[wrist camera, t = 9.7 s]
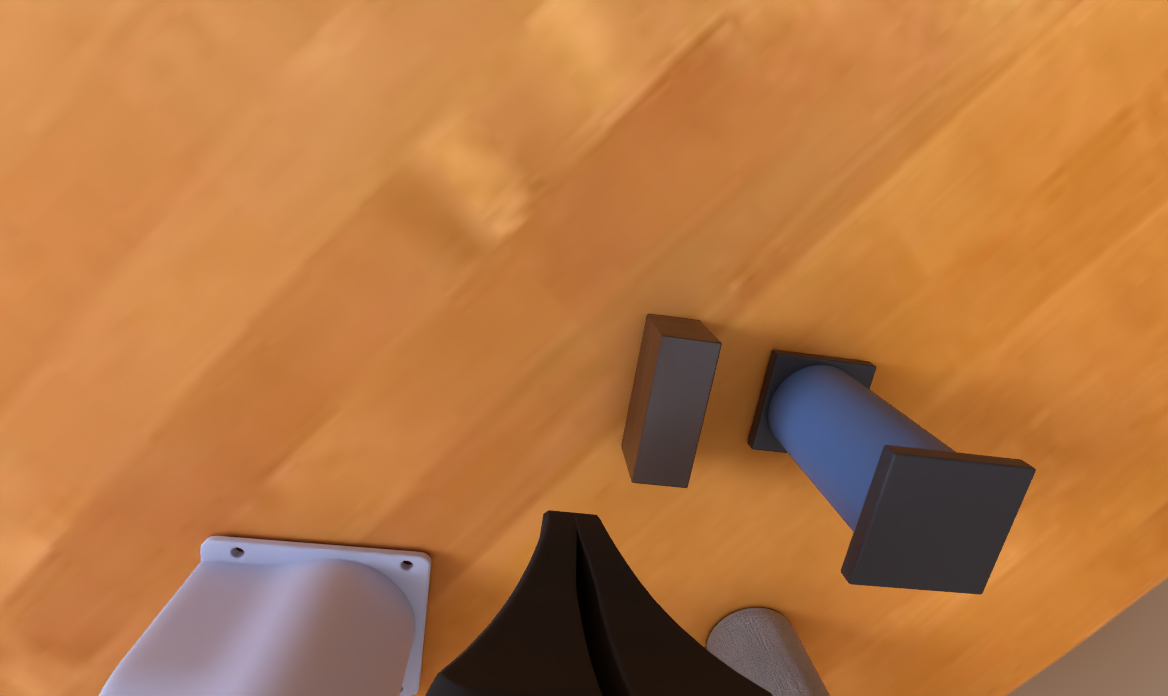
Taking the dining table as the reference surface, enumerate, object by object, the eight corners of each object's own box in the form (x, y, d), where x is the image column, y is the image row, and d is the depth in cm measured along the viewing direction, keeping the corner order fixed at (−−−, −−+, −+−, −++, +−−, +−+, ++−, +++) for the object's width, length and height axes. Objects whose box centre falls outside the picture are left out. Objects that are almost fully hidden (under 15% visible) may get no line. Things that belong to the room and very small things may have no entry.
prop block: (620, 446, 26) (631, 483, 23) (647, 313, 24) (661, 335, 21) (671, 452, 26) (687, 489, 23) (700, 320, 24) (722, 343, 22)
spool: (677, 501, 21) (977, 646, 16) (704, 384, 19) (1040, 505, 15) (768, 426, 29) (988, 509, 24) (792, 338, 27) (1030, 408, 23)
